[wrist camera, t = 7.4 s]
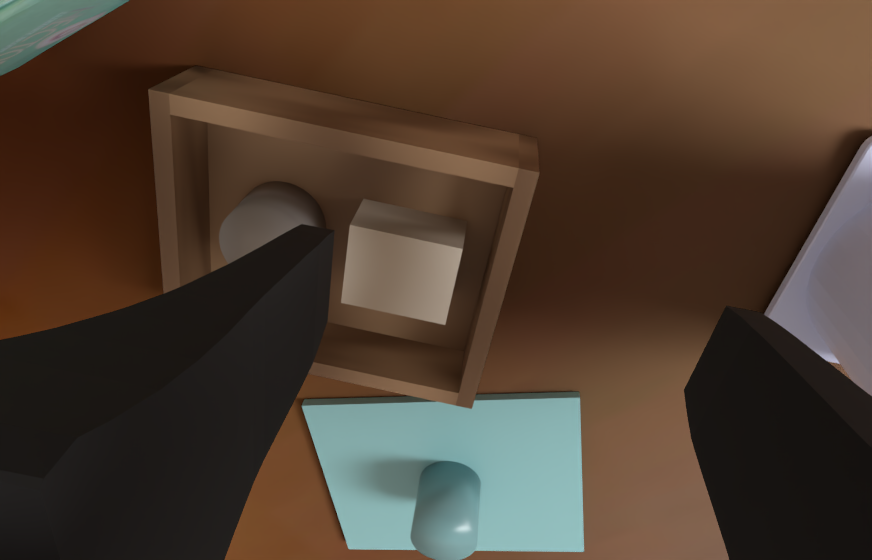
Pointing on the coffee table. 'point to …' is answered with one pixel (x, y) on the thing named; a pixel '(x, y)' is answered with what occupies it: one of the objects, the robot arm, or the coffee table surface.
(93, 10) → the box
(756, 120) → the coffee table surface
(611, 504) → the coffee table surface
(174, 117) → the crate
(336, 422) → the lid
